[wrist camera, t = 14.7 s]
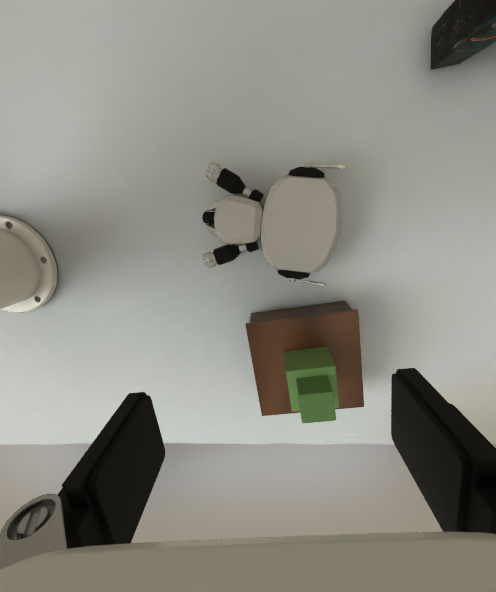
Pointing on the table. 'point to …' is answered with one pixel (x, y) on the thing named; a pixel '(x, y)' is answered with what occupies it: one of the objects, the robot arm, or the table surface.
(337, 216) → the robot toy
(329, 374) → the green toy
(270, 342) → the walnut plinth
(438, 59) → the ceramic cat
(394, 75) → the table surface
